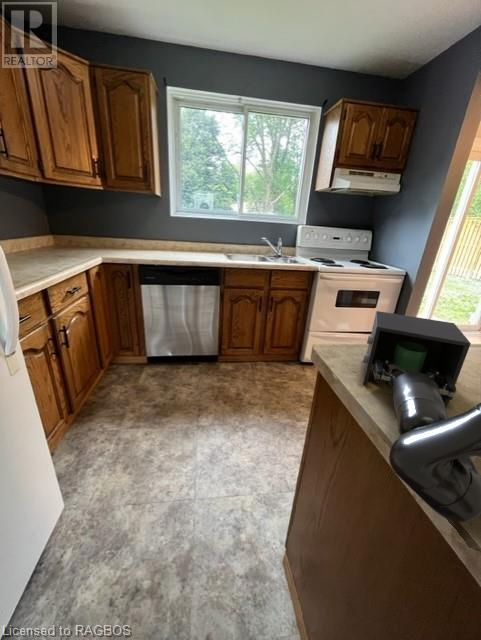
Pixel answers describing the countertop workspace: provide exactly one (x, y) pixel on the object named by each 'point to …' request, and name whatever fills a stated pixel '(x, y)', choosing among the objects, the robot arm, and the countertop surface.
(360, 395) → the countertop surface
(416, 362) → the green cylinder
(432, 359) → the dark grey open box
